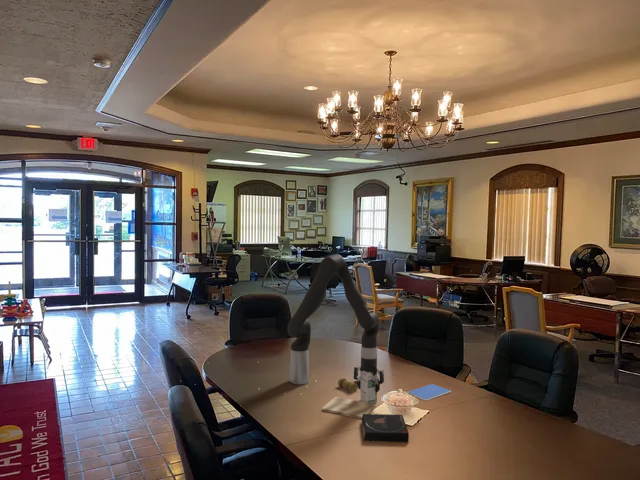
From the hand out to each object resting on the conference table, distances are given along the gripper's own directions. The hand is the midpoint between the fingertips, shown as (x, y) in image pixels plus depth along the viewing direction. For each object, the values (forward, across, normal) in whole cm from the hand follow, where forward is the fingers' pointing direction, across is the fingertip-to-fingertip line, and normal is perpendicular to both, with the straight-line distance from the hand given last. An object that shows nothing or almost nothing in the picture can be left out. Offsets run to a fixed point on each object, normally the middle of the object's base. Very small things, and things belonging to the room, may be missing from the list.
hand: (368, 390), depth 214 cm
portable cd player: (+6, +16, -26) cm, 31 cm away
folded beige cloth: (+5, -5, -11) cm, 14 cm away
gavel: (+6, -11, +17) cm, 21 cm away
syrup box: (+6, 0, 0) cm, 6 cm away
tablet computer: (+6, +23, +24) cm, 34 cm away
